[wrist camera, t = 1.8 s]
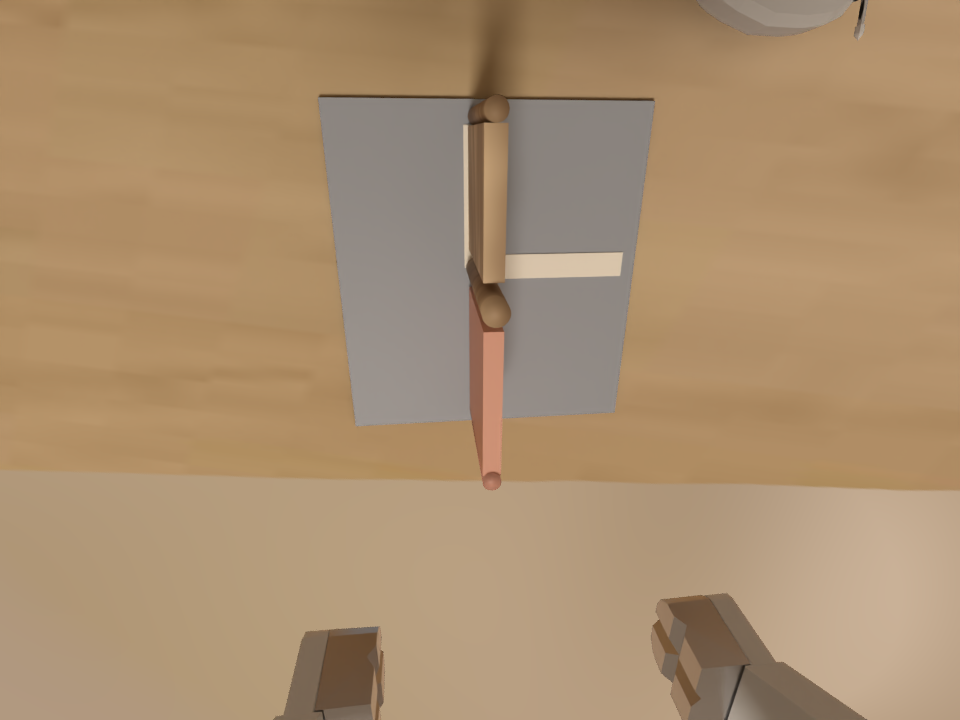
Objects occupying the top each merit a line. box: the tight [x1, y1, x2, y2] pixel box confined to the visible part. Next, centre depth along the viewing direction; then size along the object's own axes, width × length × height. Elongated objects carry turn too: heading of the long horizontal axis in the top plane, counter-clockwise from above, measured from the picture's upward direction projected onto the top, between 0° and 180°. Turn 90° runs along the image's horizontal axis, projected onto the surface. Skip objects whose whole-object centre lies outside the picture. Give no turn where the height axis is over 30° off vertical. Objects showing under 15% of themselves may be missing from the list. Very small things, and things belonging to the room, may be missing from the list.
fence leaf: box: [469, 287, 504, 490], centre depth 35 cm, size 1×11×10 cm, turn 0°
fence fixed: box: [466, 95, 511, 328], centre depth 30 cm, size 2×11×11 cm, turn 0°
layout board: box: [318, 97, 655, 426], centre depth 37 cm, size 22×24×1 cm
